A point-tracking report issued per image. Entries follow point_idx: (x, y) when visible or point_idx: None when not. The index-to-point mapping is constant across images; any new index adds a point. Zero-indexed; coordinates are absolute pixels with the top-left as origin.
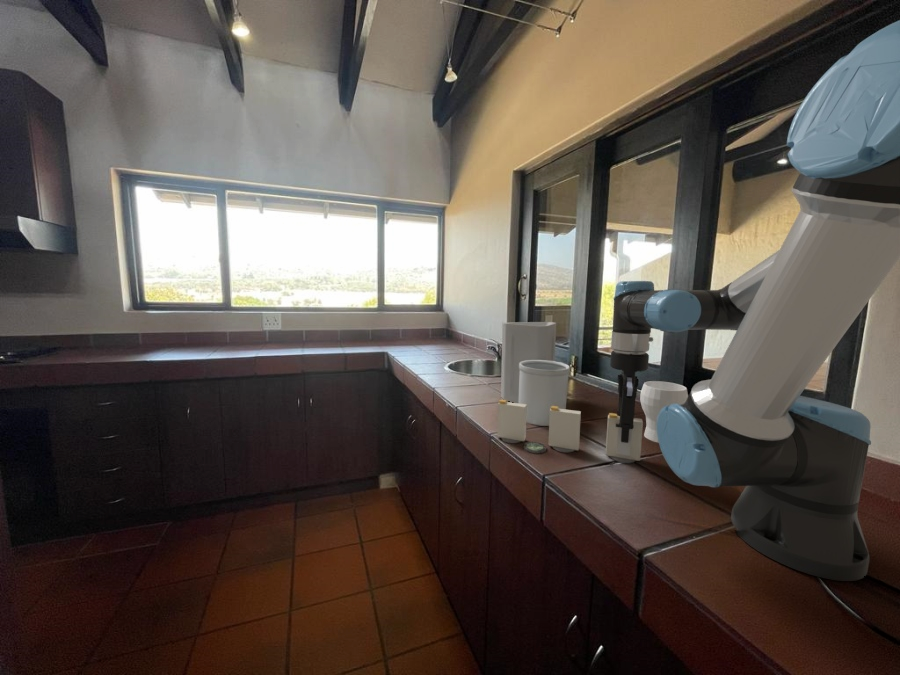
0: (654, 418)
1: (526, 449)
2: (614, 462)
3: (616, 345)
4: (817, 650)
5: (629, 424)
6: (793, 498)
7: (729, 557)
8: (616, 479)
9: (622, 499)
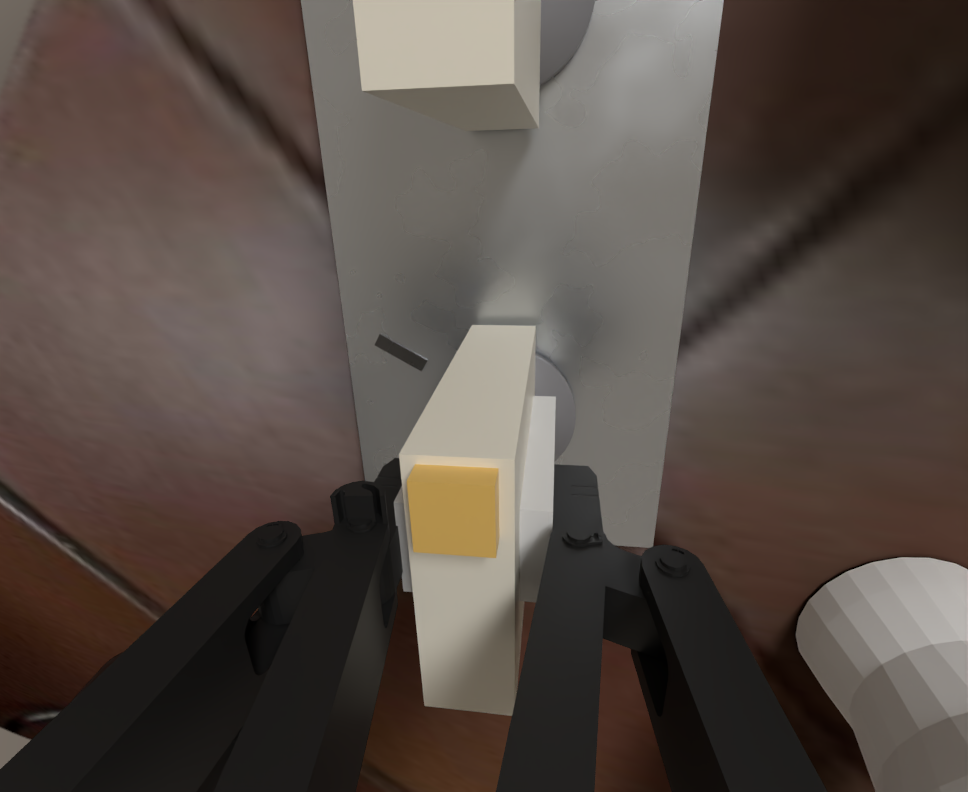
0: (925, 750)
1: None
2: (421, 366)
3: None
4: None
5: (259, 613)
6: None
7: (42, 596)
8: (287, 359)
9: (129, 371)
